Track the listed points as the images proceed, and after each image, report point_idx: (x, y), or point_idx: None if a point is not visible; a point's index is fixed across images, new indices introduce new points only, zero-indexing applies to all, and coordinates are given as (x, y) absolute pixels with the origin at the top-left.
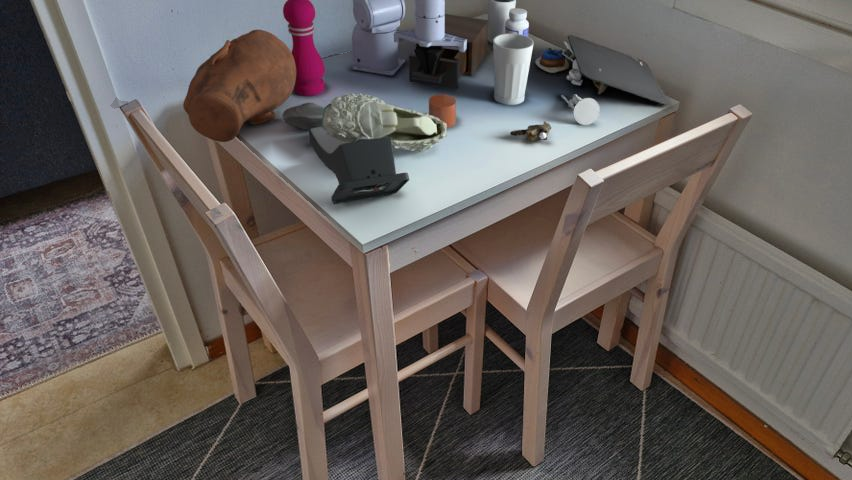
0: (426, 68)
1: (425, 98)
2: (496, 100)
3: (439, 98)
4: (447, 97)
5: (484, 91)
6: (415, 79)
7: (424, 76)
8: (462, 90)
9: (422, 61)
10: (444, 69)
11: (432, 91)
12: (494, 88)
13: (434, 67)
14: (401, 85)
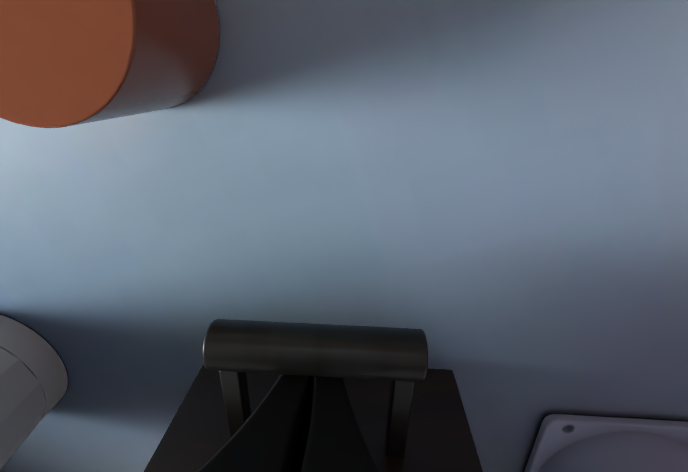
0: (315, 411)
1: (336, 266)
2: (25, 328)
3: (48, 25)
4: (4, 77)
5: (120, 386)
6: (422, 382)
7: (322, 342)
8: None
9: (340, 465)
10: None
11: None
12: (31, 389)
13: (243, 425)
14: (488, 352)
